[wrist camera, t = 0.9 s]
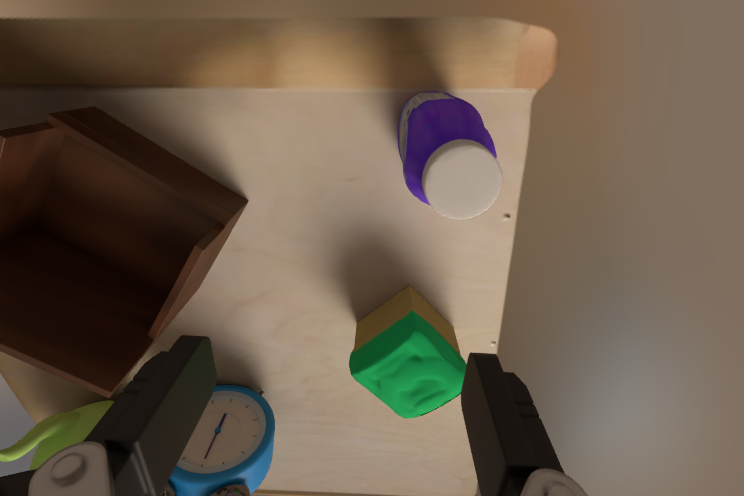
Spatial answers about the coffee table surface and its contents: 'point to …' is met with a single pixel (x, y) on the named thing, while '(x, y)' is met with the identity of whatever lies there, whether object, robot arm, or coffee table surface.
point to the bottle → (448, 155)
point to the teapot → (57, 433)
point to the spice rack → (99, 244)
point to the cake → (408, 355)
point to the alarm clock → (226, 446)
